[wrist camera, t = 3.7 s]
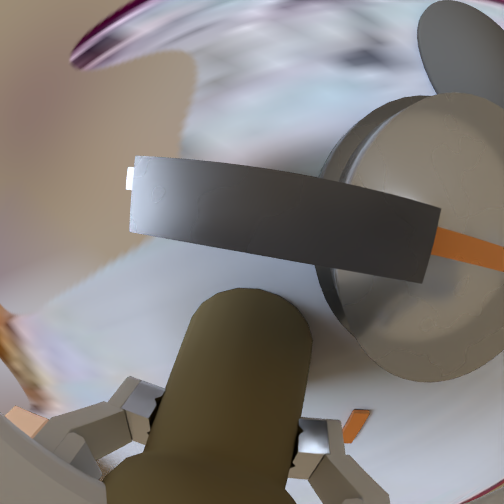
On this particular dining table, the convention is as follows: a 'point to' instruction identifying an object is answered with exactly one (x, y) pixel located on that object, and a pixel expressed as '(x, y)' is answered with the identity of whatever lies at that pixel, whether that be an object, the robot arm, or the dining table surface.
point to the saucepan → (370, 229)
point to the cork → (225, 408)
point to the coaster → (462, 50)
